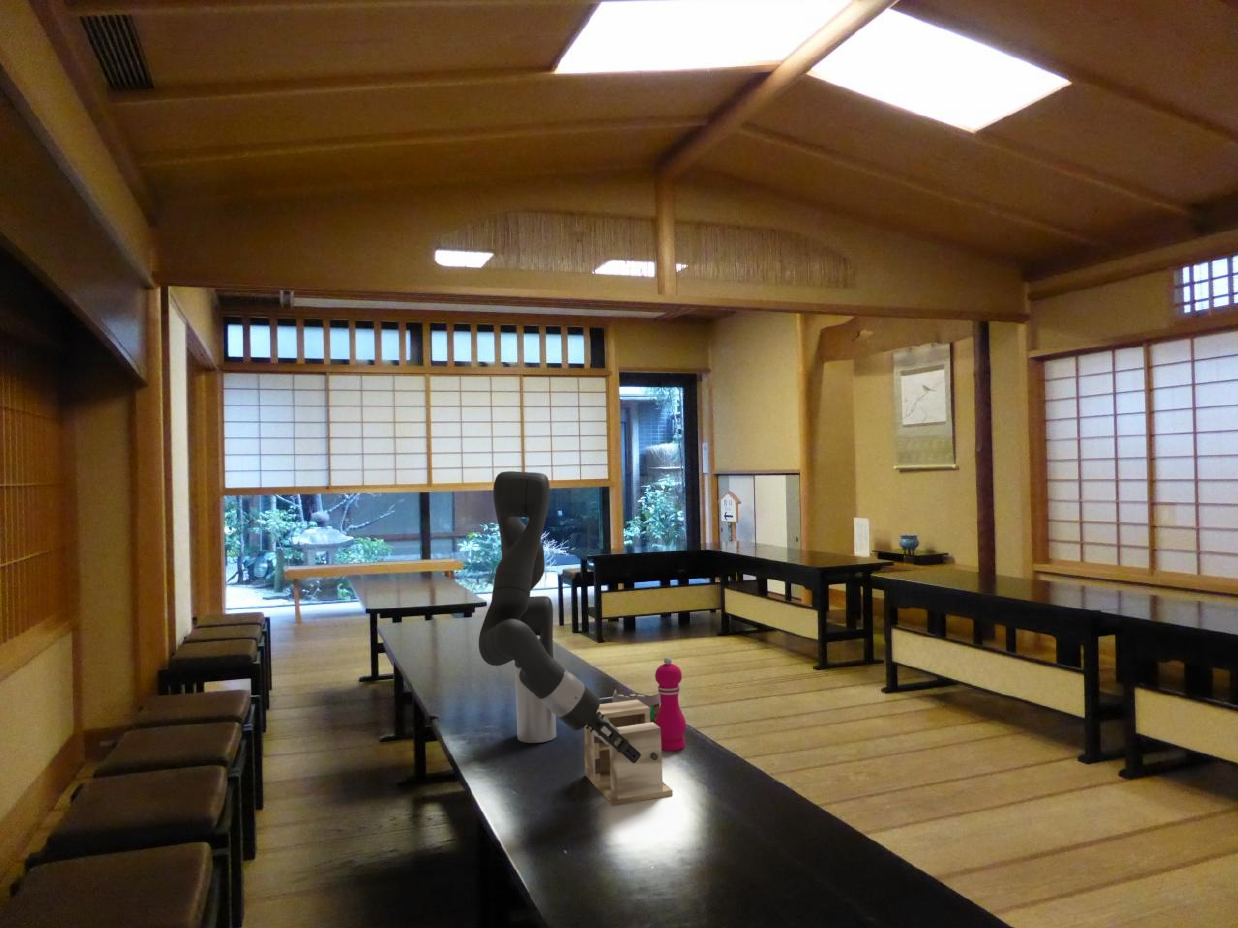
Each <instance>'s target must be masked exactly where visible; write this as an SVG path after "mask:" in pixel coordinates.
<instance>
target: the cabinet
mask: <svg viewBox="0 0 1238 928" xmlns="http://www.w3.org/2000/svg"><path fill="white" fill-rule="evenodd" d="M598 711H599V712H601V713H602V714H603V715H604V716H606V717H607V718H608V719H609V721H610V723H611V724H613V725H614V726H615V727H623V726H630V725H637V724H644V723H650V708H649V707H648V706H646V705H645V704H643V703H642V702H640V701H639V700H629V701H622V702H614V703H613V702H608V703H600V706H599V709H598ZM598 711H597V712H598ZM586 726H587V725H586ZM586 726H584V728H582V730H583V753H584V776H585V777H586V778H587V779H588V780H589V781H590V783H592V784H593V786H594V787H595V788H596V789H597V790H598V791H599V792H600V793H601V794H602V795H603V797H604V798H605V799H606V801H608V802H609V803H610V804H611V805H612V806H613V807H614V806H620V805H625V804H631V803H637V802H642V801H648V800H653V799H659V798H660V799H661V798H665V797H666V798H667V797H670V796H673V789H672V788H671V787H670V786H668V785H667V784H666V783H665V782H664V781H663V792H657V793H651V794H646V795H640V796H634V797H629V798H623V799H618V798H617V797H616V796H615V795H614V794H613V793H612V792H611V773H610V746H608V745H607V744H605V743H604V742H603V741H602V740H601V739H600V738H599V737H595V736H594V735H593V734H592V733H591V732H590V731H589V730H588V729H586V728H585V727H586Z"/></svg>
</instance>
